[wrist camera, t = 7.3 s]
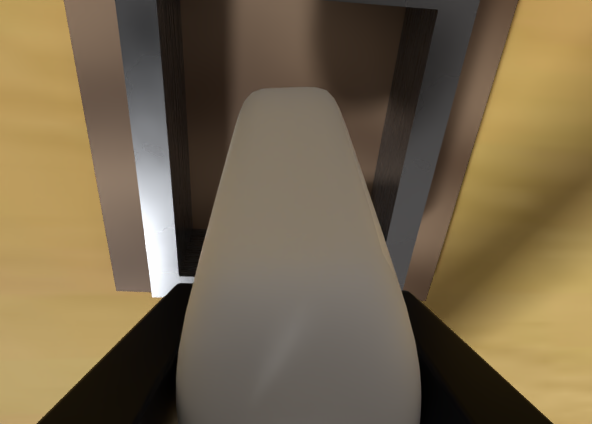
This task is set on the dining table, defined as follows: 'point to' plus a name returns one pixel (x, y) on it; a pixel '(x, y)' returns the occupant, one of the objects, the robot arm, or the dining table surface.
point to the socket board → (272, 74)
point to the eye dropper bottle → (295, 282)
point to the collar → (393, 148)
